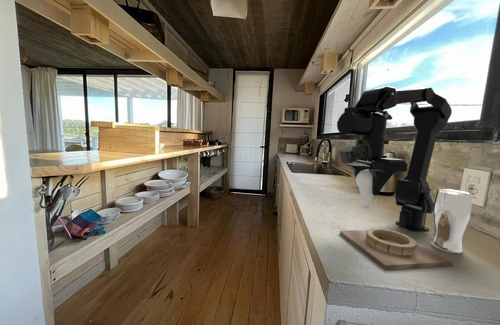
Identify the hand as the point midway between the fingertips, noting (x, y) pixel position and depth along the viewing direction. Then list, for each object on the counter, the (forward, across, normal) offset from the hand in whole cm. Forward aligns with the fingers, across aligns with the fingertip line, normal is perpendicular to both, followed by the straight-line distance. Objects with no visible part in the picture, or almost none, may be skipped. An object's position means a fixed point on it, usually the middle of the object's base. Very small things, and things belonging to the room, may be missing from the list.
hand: (367, 192), depth 60 cm
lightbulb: (+5, 0, 0) cm, 5 cm away
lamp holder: (+13, +7, +2) cm, 15 cm away
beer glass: (+13, +7, +18) cm, 24 cm away
